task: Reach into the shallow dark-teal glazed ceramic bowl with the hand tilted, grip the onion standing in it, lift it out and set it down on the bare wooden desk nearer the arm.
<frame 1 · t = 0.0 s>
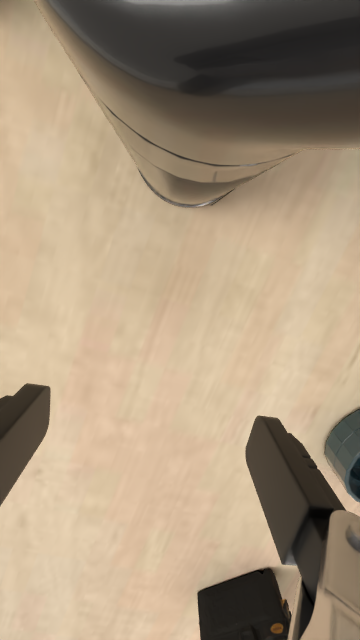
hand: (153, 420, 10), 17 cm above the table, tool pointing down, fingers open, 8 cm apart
film camera: (243, 586, 47), on the table
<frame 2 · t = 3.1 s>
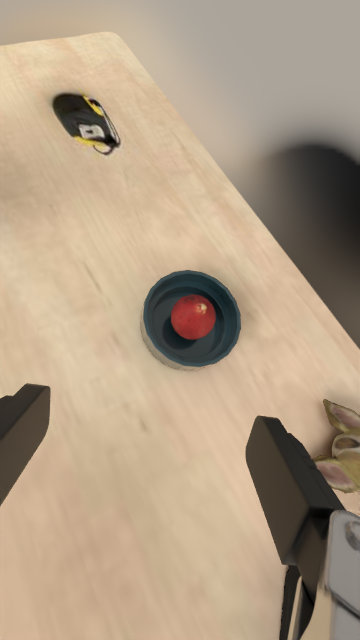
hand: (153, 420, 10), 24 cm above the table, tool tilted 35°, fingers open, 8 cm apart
ceramic sculpture: (345, 455, 36), on the table
film camera: (311, 628, 29), on the table
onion: (185, 325, 36), resting on bowl
bowl: (185, 325, 36), on the table
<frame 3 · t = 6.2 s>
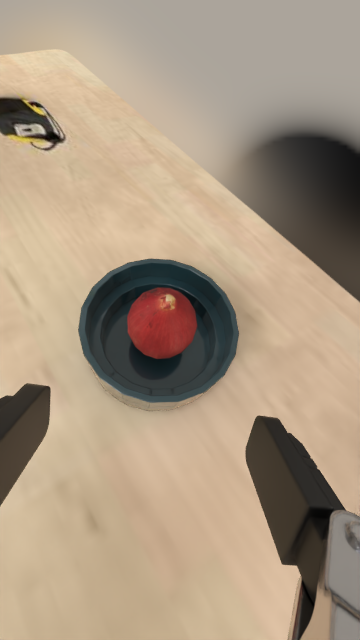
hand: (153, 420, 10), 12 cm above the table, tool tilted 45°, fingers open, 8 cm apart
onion: (158, 340, 24), resting on bowl
bowl: (158, 341, 25), on the table
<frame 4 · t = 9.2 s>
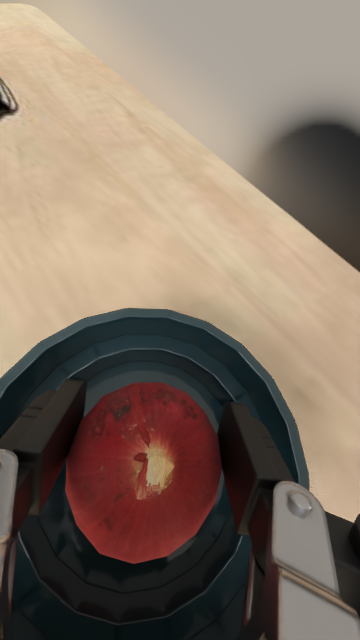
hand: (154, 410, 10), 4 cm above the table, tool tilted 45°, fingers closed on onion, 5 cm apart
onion: (143, 455, 13), resting on bowl, touching gripper
bowl: (143, 455, 13), on the table
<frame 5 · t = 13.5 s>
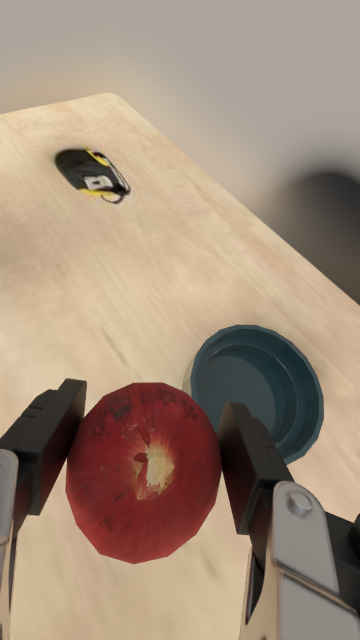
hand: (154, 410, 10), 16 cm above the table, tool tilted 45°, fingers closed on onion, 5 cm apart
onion: (143, 456, 13), point 12 cm above the table, touching gripper
bowl: (240, 395, 27), on the table
when the fingers open (4 cm above the table, at t = 17.6 s): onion stays where it is, on the table.
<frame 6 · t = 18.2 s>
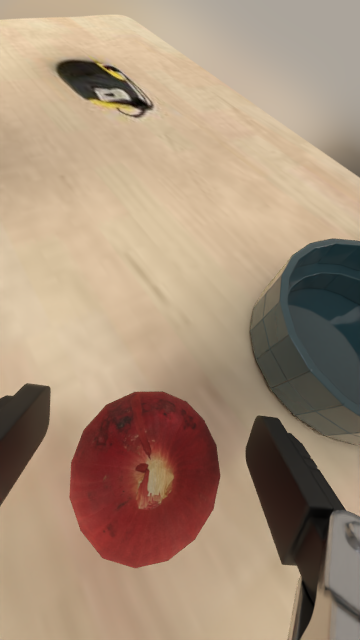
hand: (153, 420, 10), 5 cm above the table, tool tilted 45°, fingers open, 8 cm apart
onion: (144, 461, 14), on the table
bowl: (331, 347, 19), on the table
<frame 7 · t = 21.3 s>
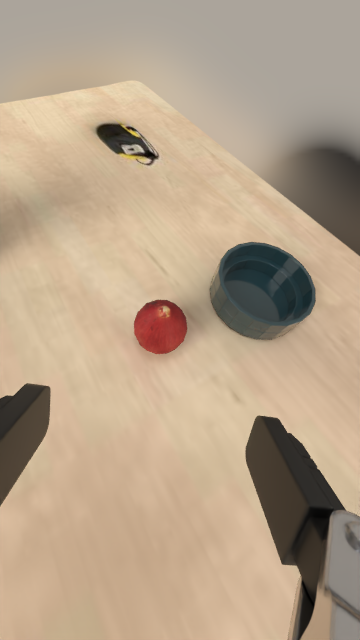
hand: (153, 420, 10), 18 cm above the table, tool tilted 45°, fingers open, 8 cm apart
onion: (157, 340, 31), on the table
bowl: (253, 298, 36), on the table
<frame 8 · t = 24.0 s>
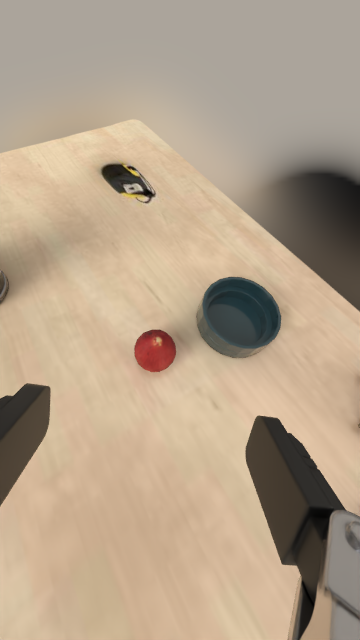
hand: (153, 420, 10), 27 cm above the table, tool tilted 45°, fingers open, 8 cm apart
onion: (153, 359, 39), on the table
bowl: (232, 322, 44), on the table
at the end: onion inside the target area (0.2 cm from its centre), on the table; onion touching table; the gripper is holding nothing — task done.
